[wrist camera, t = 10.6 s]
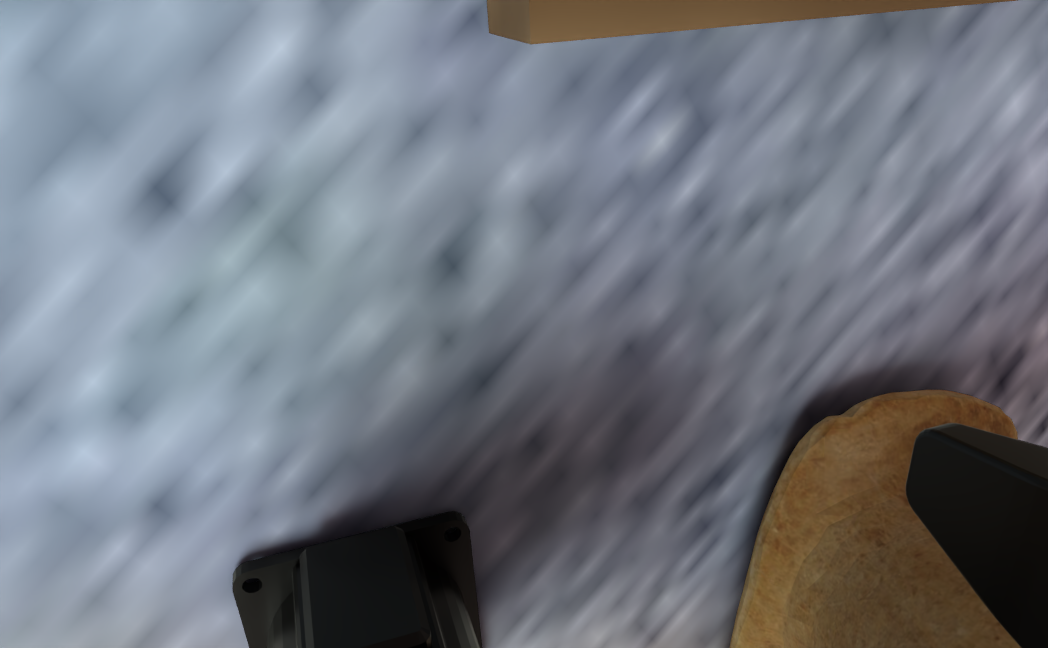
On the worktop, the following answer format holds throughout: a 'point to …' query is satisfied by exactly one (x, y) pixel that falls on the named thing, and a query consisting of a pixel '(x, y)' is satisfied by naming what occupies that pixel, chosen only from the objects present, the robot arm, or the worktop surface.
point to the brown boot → (863, 539)
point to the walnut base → (670, 15)
